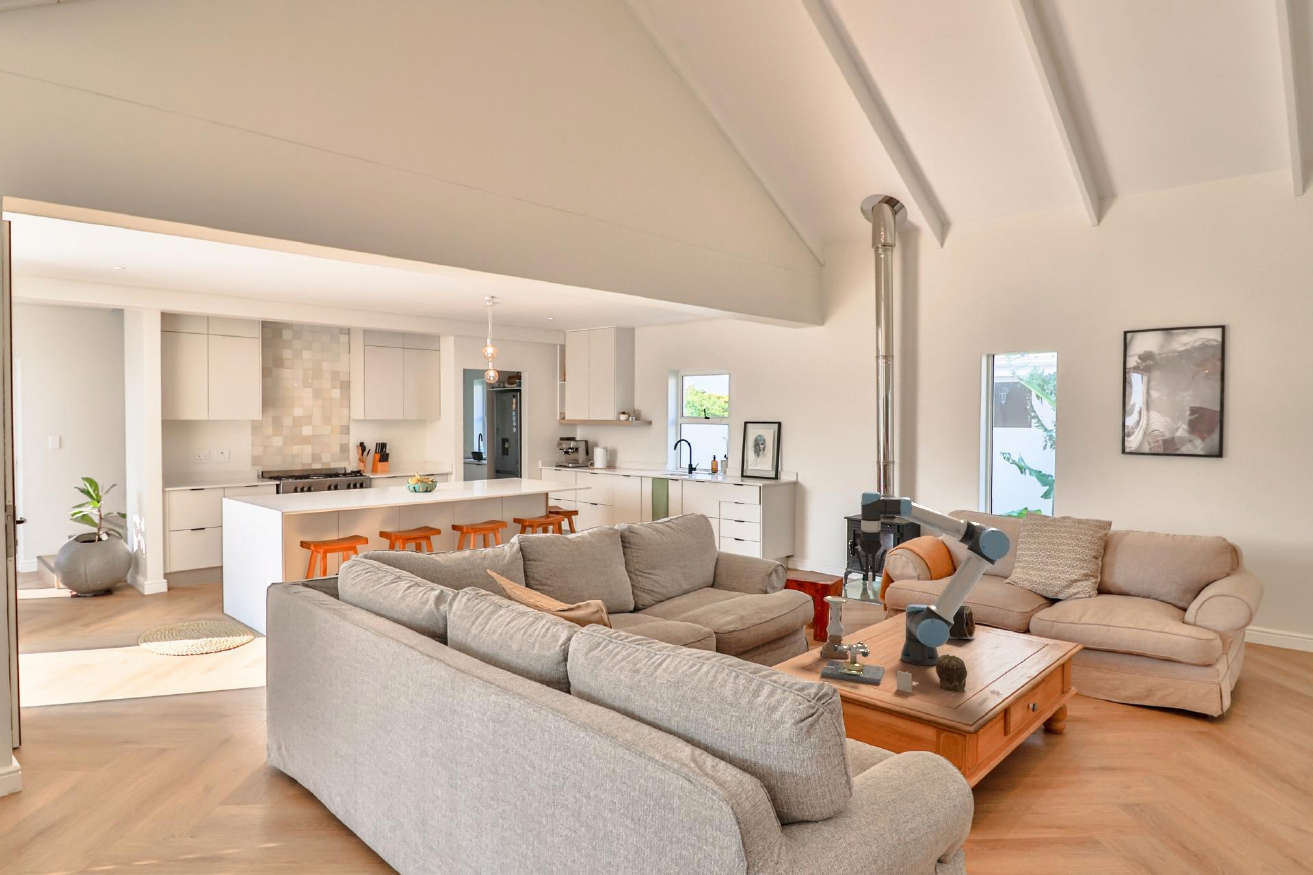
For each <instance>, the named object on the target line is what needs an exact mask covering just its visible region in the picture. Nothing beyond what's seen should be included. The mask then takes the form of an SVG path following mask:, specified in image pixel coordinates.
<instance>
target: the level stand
mask: <svg viewBox="0 0 1313 875" xmlns="http://www.w3.org/2000/svg"><path fill="white" fill-rule="evenodd" d="M844 662H845V661H838V660H831V659H829V660H827V662H826V663H825V665H824V667H823V668H822V670H821V671H820V672H821V676H820V677H821V678H828V679H835V680H836V679H837V680H844V681H849V682H856V683H857V682H858V683H866V684H874V685H879V686H880V685H881V683H882V680H883V677H884V674H885V666H881V665H880V666H878V665H872V664H871V665H870V664H864V665H865V666H864V672H863V673H862V672H855V671H848V670H847V669H844V670H843V663H844Z"/></svg>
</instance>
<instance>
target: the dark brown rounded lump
mask: <svg viewBox="0 0 1313 875" xmlns="http://www.w3.org/2000/svg"><path fill="white" fill-rule="evenodd" d="M935 672H936V675H937V676H938V679H939V685H940V687H941V689H944V690H946V691H949V692H955V693H956V692H958V693H961V692H963V691H964V690H965V688H966V685H967V684H966V683H967V682H966V681H967V676H968V670H967V666H966V663H965V662H964V660H963V659H962V658H960V657H958V656H956V655H954V654H953V655H950V654H949V653H948V654H942V655H940V656H939V658H938V660H937V662H936V664H935Z"/></svg>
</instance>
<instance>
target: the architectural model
mask: <svg viewBox="0 0 1313 875" xmlns="http://www.w3.org/2000/svg"><path fill="white" fill-rule="evenodd" d="M896 676H897V677H896V690H898V691H903V692H906V693H910V694H912V686H917V685H920V684H919V682H917V681H914V678H913V677H912V676H913V674H912V673H909V672H908V671H906V672H905V671H901V670H897V673H896Z"/></svg>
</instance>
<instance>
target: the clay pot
mask: <svg viewBox="0 0 1313 875" xmlns="http://www.w3.org/2000/svg"><path fill="white" fill-rule="evenodd" d="M953 621H954V624H953V625H952V627H951V628H950V630H949V633H950V634H949V638H948V640H949V639H950V640H960V639H961V640H965V639H967V640H973V639H974V637H975V632H976V624H975V614H974V612H973V610H972V607H970V606H969V605H961V606H960V608H959V609H958V611H957V612H956V613H955V615H954V616H953Z"/></svg>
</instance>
